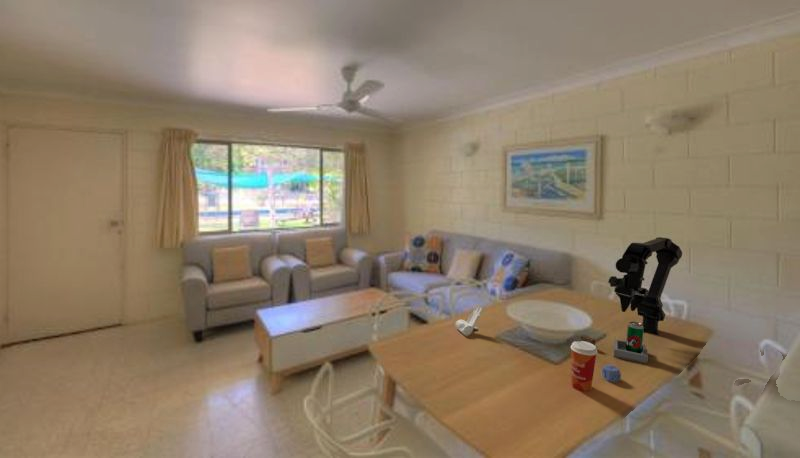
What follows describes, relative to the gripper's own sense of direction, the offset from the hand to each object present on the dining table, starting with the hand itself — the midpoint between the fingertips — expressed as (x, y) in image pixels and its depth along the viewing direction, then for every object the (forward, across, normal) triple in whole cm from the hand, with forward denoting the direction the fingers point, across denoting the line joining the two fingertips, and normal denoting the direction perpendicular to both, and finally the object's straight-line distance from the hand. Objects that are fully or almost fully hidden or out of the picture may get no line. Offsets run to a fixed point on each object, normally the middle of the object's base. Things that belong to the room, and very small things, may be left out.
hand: (627, 311), depth 146 cm
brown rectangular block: (+16, +16, -6) cm, 23 cm away
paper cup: (+21, +45, +6) cm, 50 cm away
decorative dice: (+19, +33, +10) cm, 39 cm away
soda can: (+14, +10, +8) cm, 18 cm away
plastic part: (+22, +41, -45) cm, 65 cm away
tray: (+14, +10, +6) cm, 18 cm away
